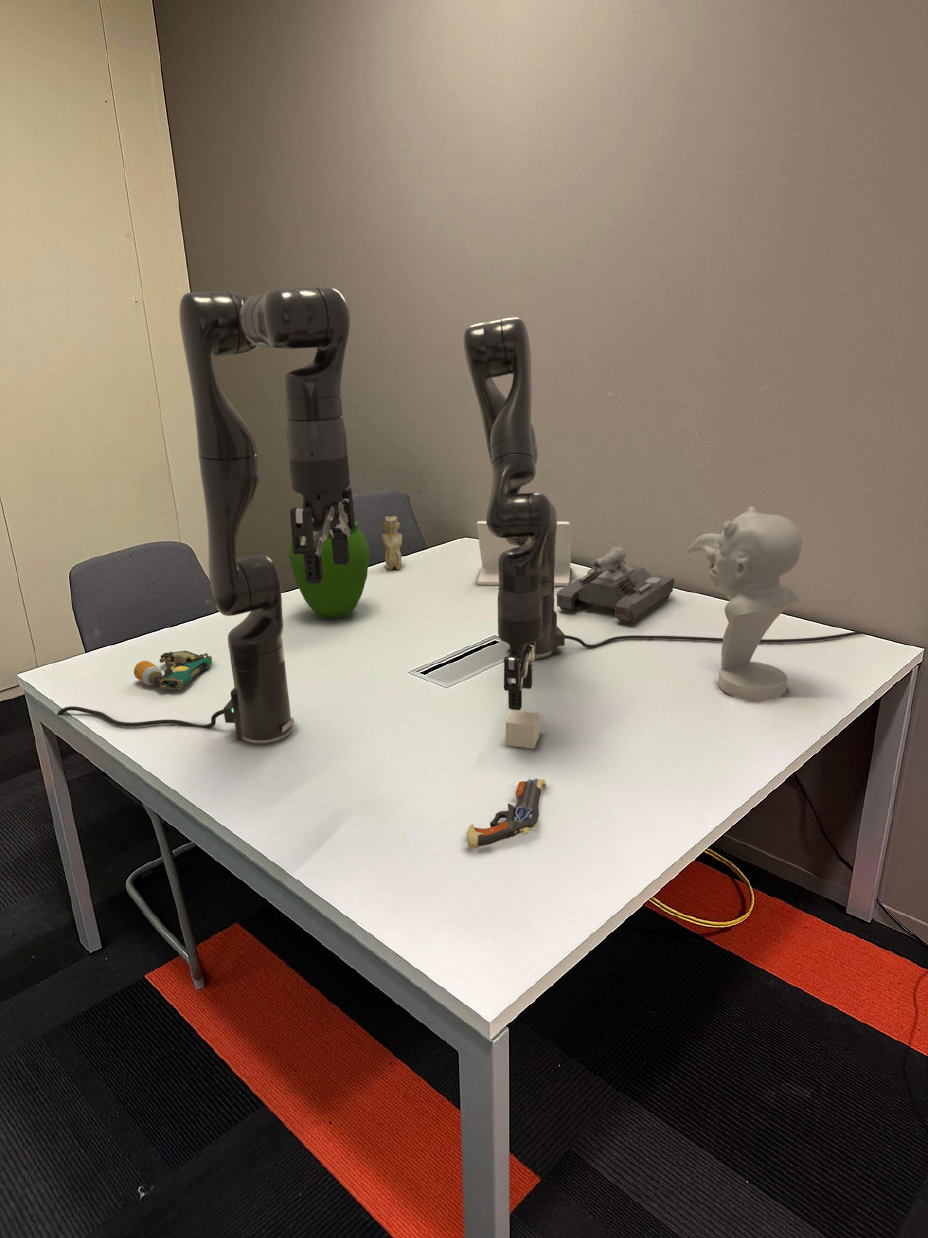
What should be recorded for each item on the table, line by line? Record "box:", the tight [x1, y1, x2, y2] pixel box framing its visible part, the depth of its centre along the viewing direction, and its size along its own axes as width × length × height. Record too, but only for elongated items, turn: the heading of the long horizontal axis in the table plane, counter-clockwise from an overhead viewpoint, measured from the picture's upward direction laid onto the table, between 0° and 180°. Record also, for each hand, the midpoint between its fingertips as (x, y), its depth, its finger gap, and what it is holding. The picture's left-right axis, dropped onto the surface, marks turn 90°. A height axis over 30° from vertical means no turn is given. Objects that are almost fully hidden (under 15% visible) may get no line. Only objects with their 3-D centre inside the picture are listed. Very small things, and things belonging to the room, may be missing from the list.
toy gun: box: [466, 778, 547, 850], centre depth 128 cm, size 3×19×10 cm
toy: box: [556, 546, 676, 624], centre depth 212 cm, size 25×20×15 cm
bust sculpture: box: [686, 506, 803, 701], centre depth 166 cm, size 16×24×35 cm, turn 28°
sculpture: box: [381, 515, 403, 570], centre depth 247 cm, size 6×7×15 cm
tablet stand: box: [476, 520, 572, 587], centre depth 236 cm, size 18×25×17 cm
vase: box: [288, 514, 370, 620], centre depth 209 cm, size 20×20×24 cm
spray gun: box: [133, 650, 213, 690], centre depth 180 cm, size 4×17×15 cm
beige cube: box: [505, 710, 541, 750], centre depth 150 cm, size 5×5×5 cm
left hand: (328, 572), depth 116 cm, fingers open, 8 cm apart
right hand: (520, 698), depth 149 cm, fingers open, 8 cm apart
